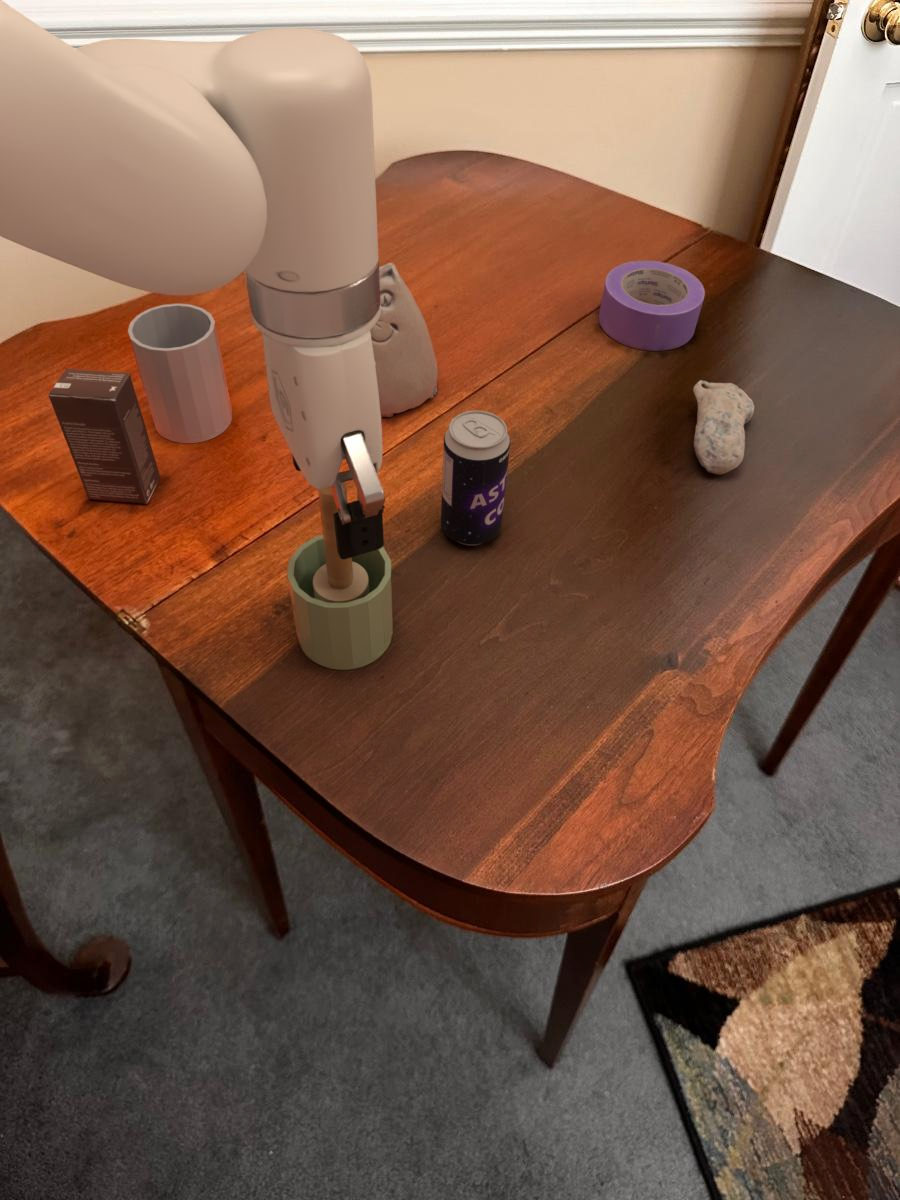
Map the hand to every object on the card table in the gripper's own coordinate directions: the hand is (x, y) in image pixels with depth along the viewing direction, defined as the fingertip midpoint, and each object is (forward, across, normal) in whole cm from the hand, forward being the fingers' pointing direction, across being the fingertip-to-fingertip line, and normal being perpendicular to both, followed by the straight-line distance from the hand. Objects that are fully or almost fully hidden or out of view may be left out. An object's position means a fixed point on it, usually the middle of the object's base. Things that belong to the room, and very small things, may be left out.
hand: (337, 506), depth 63 cm
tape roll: (+15, -31, +50) cm, 60 cm away
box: (+14, -25, -14) cm, 32 cm away
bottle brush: (+14, 0, 0) cm, 14 cm away
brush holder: (+14, 0, 0) cm, 15 cm away
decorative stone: (+15, -9, +45) cm, 48 cm away
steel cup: (+14, -33, -5) cm, 36 cm away
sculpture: (+15, -31, +15) cm, 37 cm away
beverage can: (+15, -7, +15) cm, 22 cm away
